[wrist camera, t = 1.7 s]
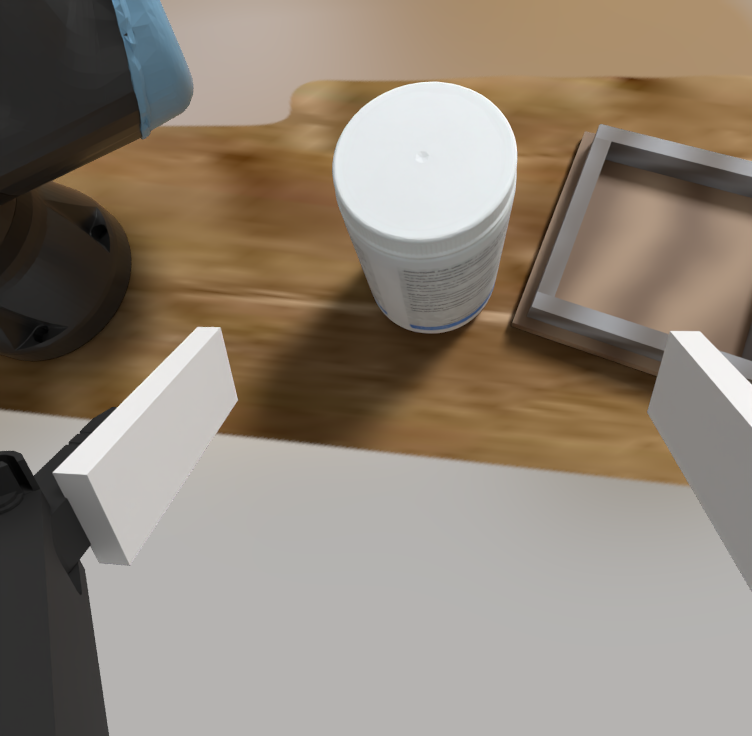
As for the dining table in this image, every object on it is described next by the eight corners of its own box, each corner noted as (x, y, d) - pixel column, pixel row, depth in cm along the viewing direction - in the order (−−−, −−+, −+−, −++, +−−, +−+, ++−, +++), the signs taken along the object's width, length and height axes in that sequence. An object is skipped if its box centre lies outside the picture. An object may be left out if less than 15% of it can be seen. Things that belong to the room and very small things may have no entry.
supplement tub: (512, 249, 38) (556, 107, 24) (463, 357, 36) (478, 274, 22) (400, 208, 40) (379, 55, 26) (348, 308, 39) (296, 204, 24)
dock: (510, 325, 37) (516, 313, 34) (582, 138, 40) (592, 112, 37) (754, 410, 33) (782, 402, 30) (813, 197, 36) (843, 173, 33)
